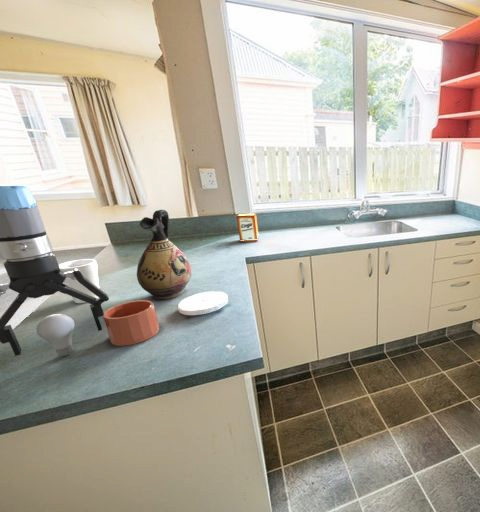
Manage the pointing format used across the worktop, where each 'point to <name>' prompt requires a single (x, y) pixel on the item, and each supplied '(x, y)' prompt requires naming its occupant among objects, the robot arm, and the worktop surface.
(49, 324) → the lightbulb
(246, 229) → the baking soda box
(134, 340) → the holder
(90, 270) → the foam cup
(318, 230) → the worktop surface
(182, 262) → the ceramic jug
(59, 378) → the worktop surface
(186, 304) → the plastic lid
